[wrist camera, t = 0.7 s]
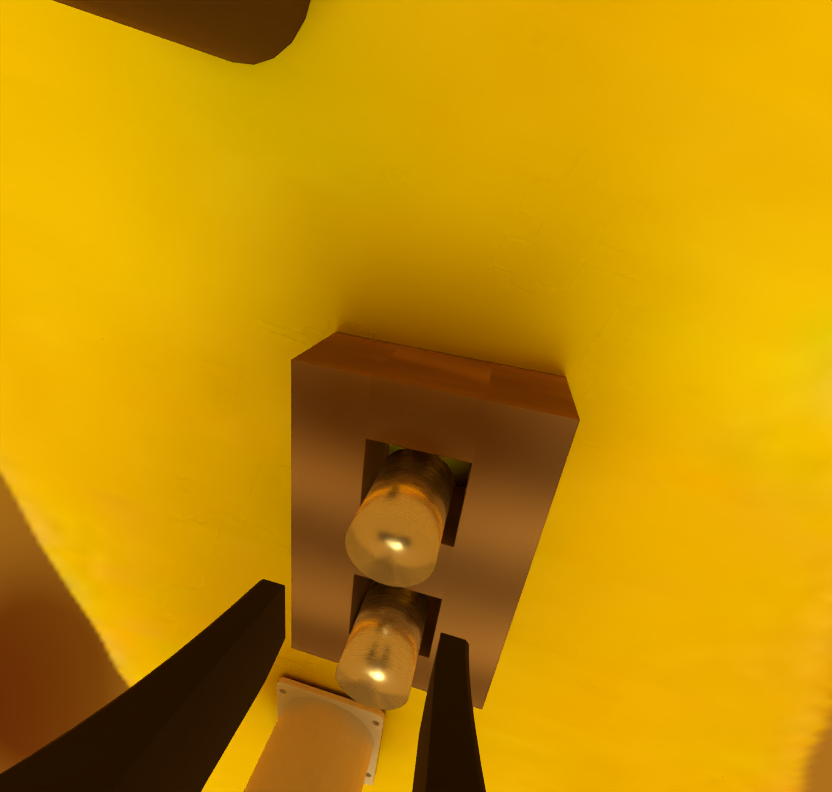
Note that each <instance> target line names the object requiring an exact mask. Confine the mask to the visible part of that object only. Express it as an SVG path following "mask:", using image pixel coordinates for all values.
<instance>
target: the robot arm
mask: <svg viewBox="0 0 832 792" xmlns="http://www.w3.org/2000/svg"><path fill="white" fill-rule="evenodd" d="M284 639H285V585H281V584H278V583H275V582H271V581H268V580H265V579H263V580H261V581H259V582H258V583H257V584H256V585H255V586H254V587H252V588H251V589H250V590H249V591H248V592H247V593H246V594H245V595H244V596H242V597H241V598H240V599H239V600H238V601H237V602H236V603H235V604H233V605H232V606H231V607H230V608H229V609H228V610H227V611H226V612H224V613H223V614H222V615H221V616H220V617H219V618H217V619H216V620H215V621H214V622H213V623H212V624H210V625H209V626H208V627H207V628H206V629H204V630H203V631H202V632H201V633H200V634H198V635H197V636H196V637H195V638H193V639H192V640H191V641H190V642H189V643H187V644H186V645H185V646H184V647H183V648H181V649H180V650H179V651H178V652H176V653H175V654H174V655H173V656H171V657H170V658H169V659H168V660H166V661H165V662H164V663H162V664H161V665H160V666H158V667H157V668H156V669H154V670H153V671H152V672H151V673H149V674H148V675H147V676H145V677H144V678H143V679H141V680H140V681H139V682H137V683H136V684H135V685H134V686H132V687H131V688H129V689H128V690H127V691H126V692H124V693H123V694H121V695H120V696H118V697H117V698H116V699H114V700H113V701H111V702H110V703H109V704H107V705H106V706H104V707H103V708H101V709H100V710H99V711H97V712H96V713H94V714H93V715H91V716H90V717H88V718H87V719H85V720H84V721H82V722H81V723H80V724H78V725H77V726H75V727H74V728H72V729H71V730H69V731H67V732H66V733H64V734H63V735H61V736H60V737H58V738H57V739H55V740H54V741H52V742H51V743H49V744H47V745H46V746H45V747H43V748H41V749H40V750H38V751H37V752H35V753H33V754H32V755H30V756H29V757H27V758H25V759H24V760H22V761H21V762H19V763H17V764H16V765H14V766H13V767H11V768H9V769H8V770H6V771H4V772H3V773H1V774H0V792H201V791H202V789H203V787H204V785H205V783H206V782H207V780H208V778H209V777H210V775H211V773H212V771H213V770H214V768H215V766H216V765H217V763H218V761H219V760H220V758H221V756H222V754H223V753H224V751H225V749H226V748H227V746H228V744H229V742H230V741H231V739H232V737H233V736H234V734H235V732H236V731H237V729H238V727H239V725H240V724H241V722H242V720H243V719H244V717H245V715H246V713H247V712H248V710H249V708H250V707H251V705H252V703H253V701H254V700H255V698H256V696H257V695H258V693H259V691H260V689H261V688H262V686H263V684H264V682H265V680H266V678H267V676H268V674H269V672H270V670H271V668H272V666H273V664H274V661H275V659H276V657H277V655H278V653H279V650H280V648H281V646H282V644H283V642H284ZM277 713H278V721H277V723H276V725H275V727H274V729H273V731H272V733H271V735H270V737H269V740H268V742H267V744H266V746H265V748H264V750H263V752H262V754H261V756H260V758H259V761H258V763H257V765H256V767H255V769H254V771H253V773H252V775H251V777H250V779H249V781H248V784H247V786H246V788H245V790H244V792H361V791H362V788H363V784H367V785H372V784H373V782H374V778H375V772H376V766H377V760H378V754H379V748H380V742H381V736H382V730H383V724H384V718H385V714H384V712H383V711H382V710H380V709H375V708H371V707H368V706H365V705H363V704H361V703H359V702H357V701H354V700H351V699H348V698H345V697H342V696H339V695H336V694H333V693H330V692H327V691H324V690H321V689H318V688H315V687H312V686H309V685H306V684H303V683H300V682H297V681H294V680H291V679H288V678H285V677H281V678H279V680H278V682H277ZM412 792H486V790H485V784H484V779H483V773H482V767H481V761H480V755H479V748H478V742H477V735H476V729H475V722H474V714H473V705H472V696H471V685H470V671H469V643H468V642H467V641H466V640H465V639H462V638H458V637H455V636H452V635H448V634H445V633H442V632H441V634H440V638H439V642H438V647H437V651H436V655H435V660H434V664H433V668H432V672H431V677H430V681H429V686H428V691H427V696H426V701H425V706H424V711H423V717H422V722H421V727H420V732H419V740H418V748H417V757H416V765H415V773H414V782H413V790H412Z"/></svg>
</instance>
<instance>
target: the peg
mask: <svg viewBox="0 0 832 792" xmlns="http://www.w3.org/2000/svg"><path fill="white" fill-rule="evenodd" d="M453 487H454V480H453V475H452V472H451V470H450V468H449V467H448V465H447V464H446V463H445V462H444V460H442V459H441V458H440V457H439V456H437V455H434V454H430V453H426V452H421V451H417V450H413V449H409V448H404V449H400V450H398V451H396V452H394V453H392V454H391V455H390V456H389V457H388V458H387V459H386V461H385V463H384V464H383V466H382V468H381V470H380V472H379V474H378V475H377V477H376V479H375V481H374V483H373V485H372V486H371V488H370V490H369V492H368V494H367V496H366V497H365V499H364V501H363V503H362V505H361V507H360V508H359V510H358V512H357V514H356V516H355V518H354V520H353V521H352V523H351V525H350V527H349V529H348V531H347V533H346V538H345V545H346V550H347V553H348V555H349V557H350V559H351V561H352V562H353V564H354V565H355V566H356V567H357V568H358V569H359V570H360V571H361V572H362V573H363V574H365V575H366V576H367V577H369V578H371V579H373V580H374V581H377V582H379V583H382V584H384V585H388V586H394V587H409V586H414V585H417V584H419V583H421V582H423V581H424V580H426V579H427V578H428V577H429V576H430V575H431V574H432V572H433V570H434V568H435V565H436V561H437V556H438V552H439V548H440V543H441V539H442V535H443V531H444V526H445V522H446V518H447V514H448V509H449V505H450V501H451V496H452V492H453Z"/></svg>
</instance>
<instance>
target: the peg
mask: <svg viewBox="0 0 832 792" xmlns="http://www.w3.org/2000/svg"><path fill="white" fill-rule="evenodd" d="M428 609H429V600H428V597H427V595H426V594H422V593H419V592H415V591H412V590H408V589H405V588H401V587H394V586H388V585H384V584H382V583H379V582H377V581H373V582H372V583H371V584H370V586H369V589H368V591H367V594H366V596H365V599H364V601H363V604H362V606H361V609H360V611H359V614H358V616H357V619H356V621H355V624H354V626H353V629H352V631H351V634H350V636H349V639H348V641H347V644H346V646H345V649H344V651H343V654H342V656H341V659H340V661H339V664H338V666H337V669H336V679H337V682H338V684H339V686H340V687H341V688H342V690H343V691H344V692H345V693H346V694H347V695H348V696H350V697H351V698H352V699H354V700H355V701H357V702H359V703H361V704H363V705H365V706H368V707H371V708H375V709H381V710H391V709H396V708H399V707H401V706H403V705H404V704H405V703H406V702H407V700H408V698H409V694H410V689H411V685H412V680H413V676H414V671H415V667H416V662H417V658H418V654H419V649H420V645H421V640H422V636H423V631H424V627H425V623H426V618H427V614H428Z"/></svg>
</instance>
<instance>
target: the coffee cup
mask: <svg viewBox="0 0 832 792" xmlns="http://www.w3.org/2000/svg"><path fill="white" fill-rule="evenodd" d="M53 1H56V2H59V3H62V4H65V5H68V6H71V7H74V8H77V9H80V10H83V11H85V12H88V13H91V14H94V15H97V16H100V17H103V18H106V19H109V20H112V21H115V22H118V23H120V24H123V25H126V26H129V27H132V28H135V29H138V30H141V31H144V32H147V33H150V34H152V35H155V36H158V37H161V38H164V39H167V40H170V41H173V42H176V43H179V44H182V45H185V46H187V47H190V48H193V49H196V50H199V51H202V52H205V53H208V54H211V55H214V56H217V57H219V58H222V59H225V60H228V61H231V62H236V63H245V64H253V65H254V64H257V63H260V62H263V61H266V60H269V59H272V58H274V57H276V56H277V55H278V54H279V53H280V52H281V51H282V50H284V49H285V48H286V47H287V46H288V45H289V44H290V43H292V41H293V39H294V37H295V36H296V34H297V32H298V30H299V29H300V27H301V25H302V23H303V22H304V20H305V18H306V14H307V10H308V6H309V2H310V0H53Z"/></svg>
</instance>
